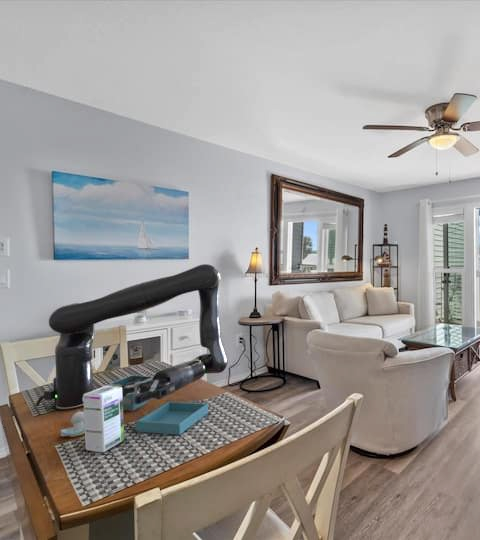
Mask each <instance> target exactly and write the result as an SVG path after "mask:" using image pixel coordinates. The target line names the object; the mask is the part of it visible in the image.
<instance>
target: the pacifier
mask: <svg viewBox="0 0 480 540" xmlns="http://www.w3.org/2000/svg"><path fill="white" fill-rule="evenodd" d="M70 421H71V423H72V425H73V426H71V427H68V428H63V429H61V430H60V433H61V434H60V436H61V437H70V438H75V437H79V436H81V435H83V434H84V435H85V422H84V411H77V412H75V413H74V414H73V415H72V416H71V418H70Z"/></svg>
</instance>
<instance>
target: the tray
mask: <svg viewBox="0 0 480 540" xmlns="http://www.w3.org/2000/svg"><path fill="white" fill-rule="evenodd" d="M208 414H209V403H202V402H201V403H200V402H187V401H185V402H183V401H167V402H166V403H164V404H163V405H161V406H159V407H158V408H156V409H154V410H152V411H151V412H149V413H147V414H146V415H144V416H142V417H141V418H138V419H137V420H136V421H135V433H149V434H150V433H151V434H163V435H164V434H165V435H176V436H177V435H178V436H180V435H181V434H183V433H184V432H185V431H187V430H188V429H189V428H191V427H192V426H193V425H194V424H196V423H197V422H199V421H200V420H201V419H203V418H204V417H205V416H206V415H208Z"/></svg>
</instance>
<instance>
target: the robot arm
mask: <svg viewBox="0 0 480 540" xmlns="http://www.w3.org/2000/svg"><path fill="white" fill-rule="evenodd" d="M220 273H221V272H220V271H219V270H218V268H217V267H215V266H213V265H212V264H209V263H203V264H199V265H196V266H195V267H194V266H193V267H191V268H189V269H187V270H184V271H181V272H179V273H177V274H174V275H169V276H165V277H160V278H155V279H152V280H148V281H144V282H141V283H137V284H133V285H130V286H128V287H125V288H122V289H119V290H117V291H114V292H112V293H109V294H107V295H104V296H102V297H99V298H96V299H93V300H88V301H85V302H74V303H70V304H66V305H63V306H60V307H58V308H56V309H55V310H54V311H53V312H52V313H51V314H50V315H49V318H48V326H49V328H50V329H51V330H52V331H54V332H56V333H57V334H58V333H59V339H58V342H57V343H56V346H55V347H54V359H55V363H54V364H55V377H54V378H53V381H52V382H53V388H50V389H48V390H45V391H43V395H42V396H40V397H39V398H38V399H37V401H36V403H35V407H39V406H40V404H41V402H42V401H43V400H45V401H52V400H53V407H54V408H56V410H59V411H66V410H67V411H69V410H74V409H78V408H82V407H84V400H83V394H85V393H88V392H91V391H93V390H94V380H93V379H94V375H93V374H94V373H93V371H94V370H93V344H94V341H95V325H96V324H99V323H100V322H103V321H106V320H111V319H115V318H119V317H123V316H128V315H132V314H135V313H136V314H137V313H140V312H142V311H143V312H144V311H146V310H149V309H153V308H155V307H158V306H160V305H163V304H165V303H167V302H169V301H170V300H173V299H175V298H177V297H179V296H182V295H184V294H188V293H192V292H196V291H197V292H198V297H199V310H200V311H199V321H198V322H199V324H198V325H199V326H198V328H199V331H198V332H199V343H200V346H201V347H202V348H205V349H207V350H208V351H209V353H203V354H200V355H198V356H197V357H195V358H193V359H191V360H188V361H186V362H183V363H179V364H175V365H173V366H169V367H167V368H164V369H161V370H159V371H157V372H156V373H155V374H154V376H152V377H153V379H148V380H146V381H143V379H138V380H135V381H132V382H129V383H126V384H123V385H122V397H124V396H127V395H131V394H134V395H136V396H135V398H134V401H135V404H140V403H142V402H144V401H146V400H147V401H149V400H154V399H155V400H161V399H163V398H165V397H168V396H169V395H171V394H173V393H175V392H176V391H179V390H181V389H184V388H185V387H187V386H188V385H190V384H193V383H195V382H197V381H199V380H201V379H202V378H203V377H204V376H205V375H206V374H220V373H223V372H224V371H225V370H226V368H227V366H228V356H227V353H226V350H225V349H226V348H225V346H224V344H223V341H222V332H221V321H220V311H219V290H220V281H221V274H220ZM129 388H130V389H129ZM137 389H140V392H138V390H137ZM131 391H132V392H131Z"/></svg>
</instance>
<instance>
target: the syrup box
mask: <svg viewBox="0 0 480 540" xmlns="http://www.w3.org/2000/svg"><path fill="white" fill-rule="evenodd" d="M83 400H84V406H83V412H84V420H83V422H84V423H85V433H84V442H85V450H86V451H89V452H95V453H96V452H97V453H106V452H107V451H108V450H110V449H112V448H113V447H115V446H117V445H118V444H120V443H122V442H124V441H125V428H124V427H125V425H124V410H123V398H122V387H119V386H109V385H103V386H102V387H98V388H96V389H93V391H91V392H88V393H85V394H83Z"/></svg>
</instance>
